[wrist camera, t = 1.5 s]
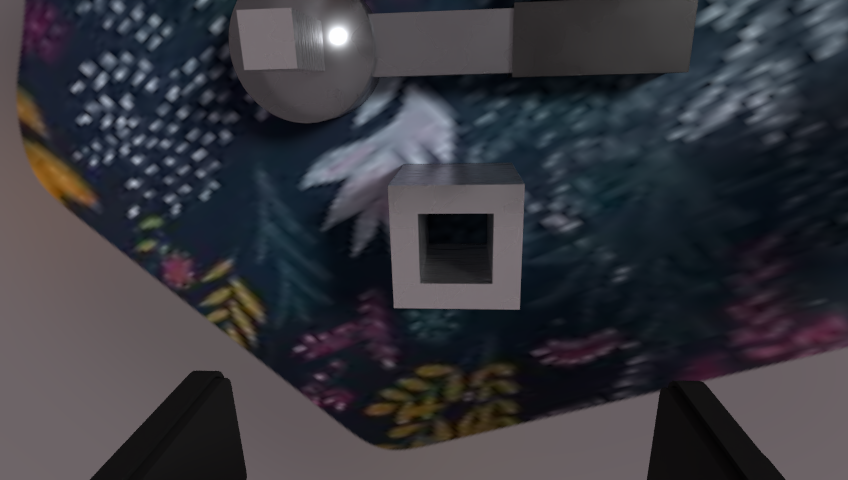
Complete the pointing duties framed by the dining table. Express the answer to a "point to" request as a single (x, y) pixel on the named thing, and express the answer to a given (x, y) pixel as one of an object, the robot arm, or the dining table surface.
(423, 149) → the dining table surface
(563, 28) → the ball knob lever
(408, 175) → the socket
